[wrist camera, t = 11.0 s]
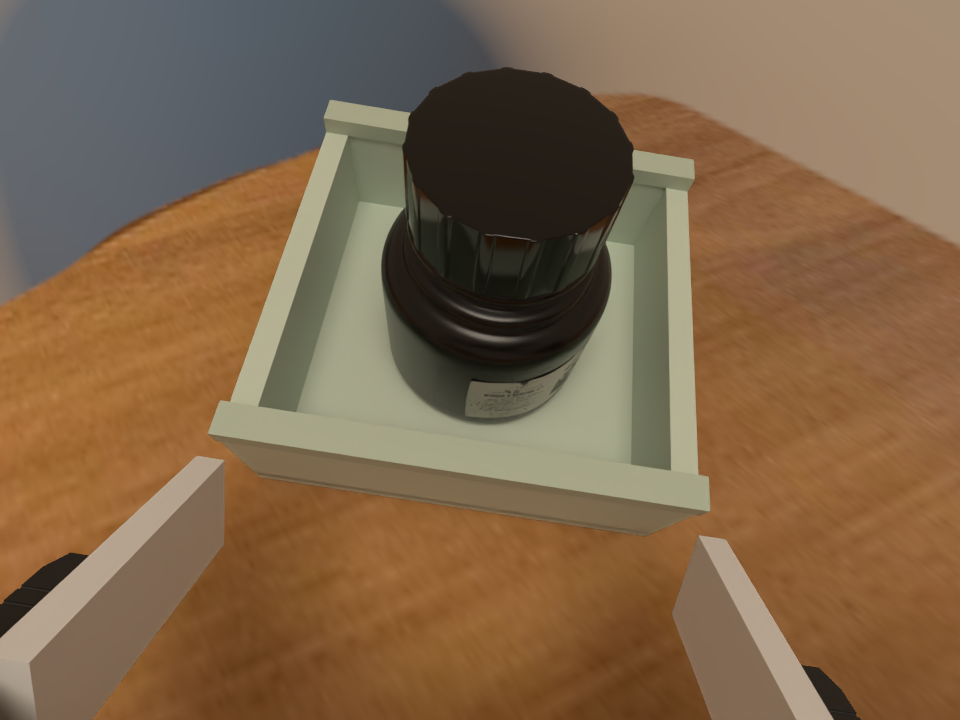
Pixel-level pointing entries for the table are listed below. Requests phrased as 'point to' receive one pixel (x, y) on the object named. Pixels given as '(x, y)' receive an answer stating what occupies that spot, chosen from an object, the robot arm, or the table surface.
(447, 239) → the ink bottle
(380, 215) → the tray
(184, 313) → the table surface
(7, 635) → the robot arm
